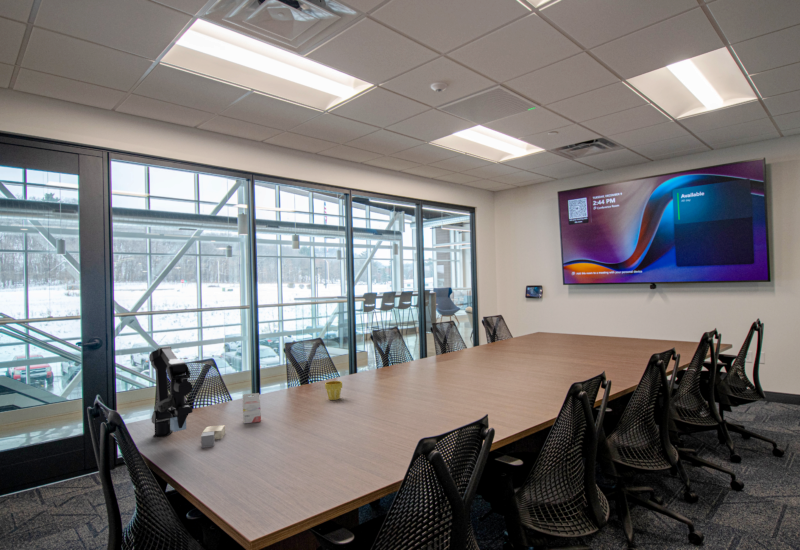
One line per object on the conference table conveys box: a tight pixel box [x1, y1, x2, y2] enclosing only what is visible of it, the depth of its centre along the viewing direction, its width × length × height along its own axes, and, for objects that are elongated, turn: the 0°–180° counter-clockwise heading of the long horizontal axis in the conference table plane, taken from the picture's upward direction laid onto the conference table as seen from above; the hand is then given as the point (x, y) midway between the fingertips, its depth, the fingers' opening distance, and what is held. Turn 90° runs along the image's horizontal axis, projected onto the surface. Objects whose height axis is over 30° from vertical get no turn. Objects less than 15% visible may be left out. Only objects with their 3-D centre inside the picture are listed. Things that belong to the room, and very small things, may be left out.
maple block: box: [202, 424, 226, 440], centre depth 207 cm, size 8×8×4 cm
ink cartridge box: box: [242, 392, 262, 424], centre depth 229 cm, size 9×5×15 cm, turn 105°
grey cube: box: [200, 431, 216, 448], centre depth 196 cm, size 5×5×5 cm
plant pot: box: [324, 380, 343, 401], centre depth 270 cm, size 10×10×10 cm
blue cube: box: [170, 417, 187, 433], centre depth 196 cm, size 5×5×5 cm
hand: (178, 426), depth 196 cm, fingers closed on blue cube, 5 cm apart
